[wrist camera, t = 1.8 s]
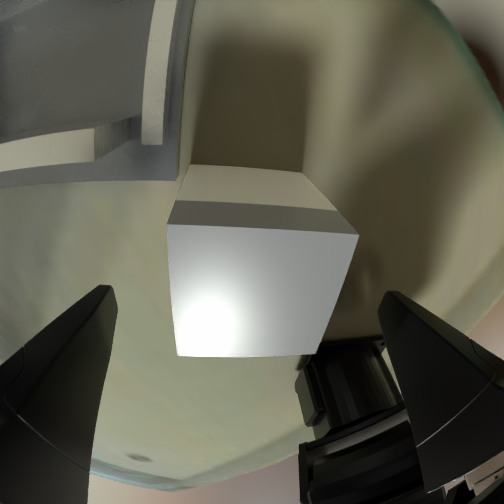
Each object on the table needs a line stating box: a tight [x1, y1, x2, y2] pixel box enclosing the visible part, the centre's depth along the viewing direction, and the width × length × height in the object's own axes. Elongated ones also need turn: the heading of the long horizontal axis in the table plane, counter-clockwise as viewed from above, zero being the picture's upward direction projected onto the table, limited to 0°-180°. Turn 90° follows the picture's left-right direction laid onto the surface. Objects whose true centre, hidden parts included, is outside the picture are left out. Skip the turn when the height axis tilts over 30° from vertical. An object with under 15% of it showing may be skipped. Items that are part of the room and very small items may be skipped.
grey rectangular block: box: [167, 165, 359, 357], centre depth 11 cm, size 5×5×6 cm
